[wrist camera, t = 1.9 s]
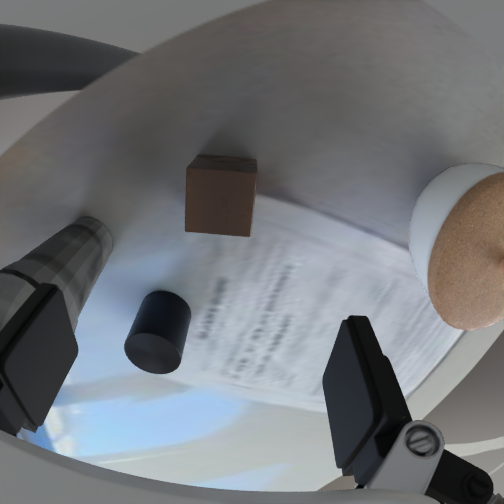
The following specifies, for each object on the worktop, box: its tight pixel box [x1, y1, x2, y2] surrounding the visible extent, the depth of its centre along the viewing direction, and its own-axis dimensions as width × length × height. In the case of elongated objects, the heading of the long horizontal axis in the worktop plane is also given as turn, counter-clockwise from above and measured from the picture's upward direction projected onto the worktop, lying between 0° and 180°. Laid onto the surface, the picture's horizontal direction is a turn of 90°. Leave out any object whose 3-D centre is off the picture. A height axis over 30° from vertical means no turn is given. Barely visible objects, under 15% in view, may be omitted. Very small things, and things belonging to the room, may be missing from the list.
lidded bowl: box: [408, 163, 504, 330], centre depth 21 cm, size 13×13×11 cm
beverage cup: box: [0, 217, 113, 333], centre depth 18 cm, size 7×7×20 cm
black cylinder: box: [124, 291, 191, 374], centre depth 28 cm, size 5×5×6 cm
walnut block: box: [185, 155, 257, 237], centre depth 23 cm, size 4×4×4 cm
